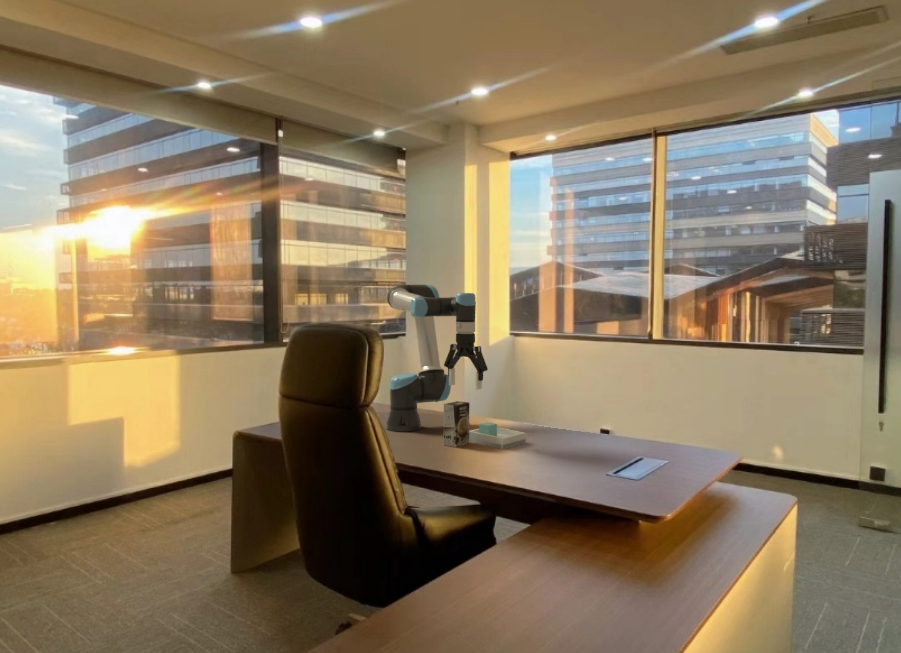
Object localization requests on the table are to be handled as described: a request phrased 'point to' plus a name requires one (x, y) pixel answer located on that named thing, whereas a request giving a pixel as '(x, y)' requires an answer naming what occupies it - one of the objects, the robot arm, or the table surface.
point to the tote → (498, 438)
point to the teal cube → (488, 428)
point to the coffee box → (456, 424)
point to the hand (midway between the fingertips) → (465, 387)
